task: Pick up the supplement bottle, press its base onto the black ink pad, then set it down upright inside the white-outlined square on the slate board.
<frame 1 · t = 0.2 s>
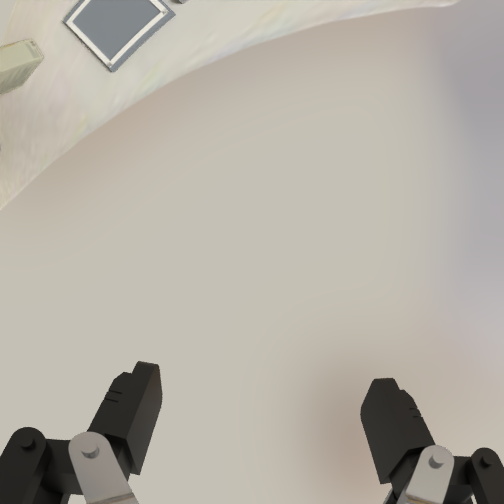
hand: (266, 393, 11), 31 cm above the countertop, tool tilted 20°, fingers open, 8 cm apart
print card: (115, 15, 25), on the countertop
skincare box: (26, 62, 27), on the countertop
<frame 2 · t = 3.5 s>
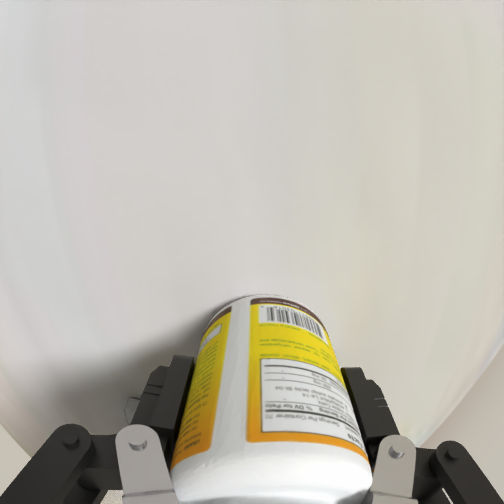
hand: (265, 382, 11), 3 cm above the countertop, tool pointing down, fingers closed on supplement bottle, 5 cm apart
supplement bottle: (265, 341, 14), on the countertop, touching gripper
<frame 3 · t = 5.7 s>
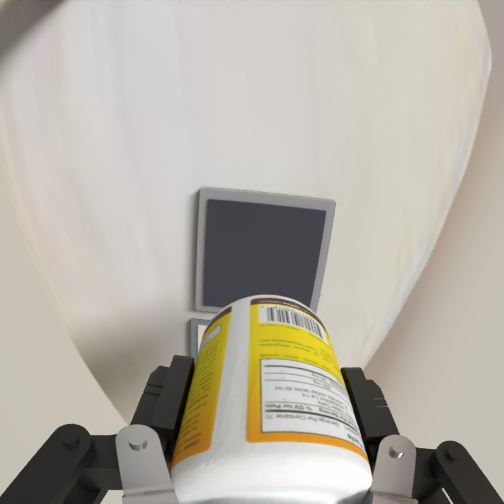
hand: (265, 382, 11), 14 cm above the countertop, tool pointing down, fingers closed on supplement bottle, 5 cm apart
supplement bottle: (265, 341, 14), point 12 cm above the countertop, touching gripper
ink pad: (261, 255, 25), on the countertop
print card: (248, 367, 29), on the countertop
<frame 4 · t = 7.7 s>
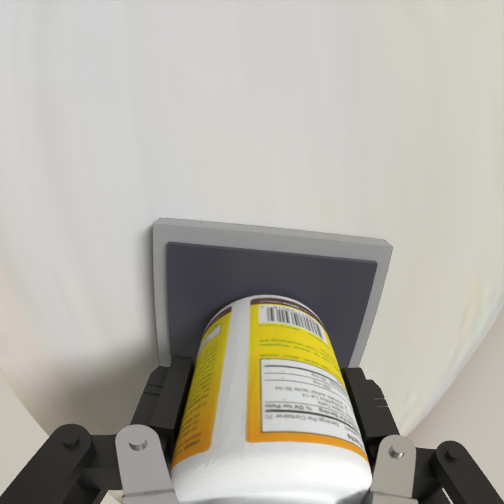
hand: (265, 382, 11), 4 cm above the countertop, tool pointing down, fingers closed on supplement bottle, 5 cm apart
supplement bottle: (265, 341, 14), point 1 cm above the countertop, touching gripper, ink pad
ink pad: (263, 328, 15), on the countertop
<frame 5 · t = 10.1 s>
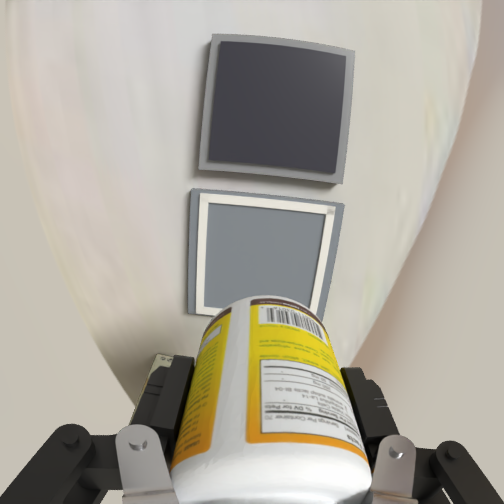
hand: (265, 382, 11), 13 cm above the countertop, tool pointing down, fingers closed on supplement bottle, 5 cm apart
supplement bottle: (265, 341, 14), point 11 cm above the countertop, touching gripper
ink pad: (277, 105, 20), on the countertop
print card: (261, 259, 24), on the countertop
skincare box: (176, 379, 28), on the countertop
when the fingers open (5 cm above the countertop, at t = 12.0 s): supplement bottle drops 1 cm, resting on print card.
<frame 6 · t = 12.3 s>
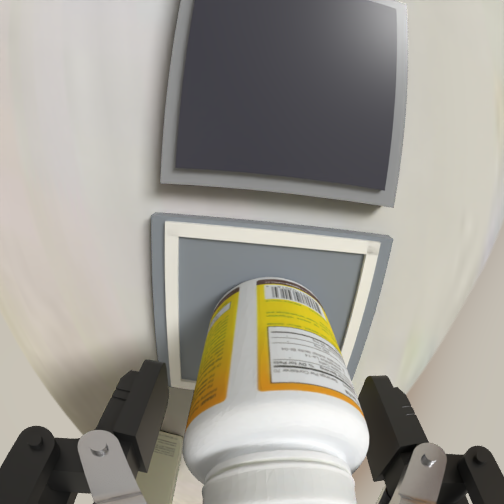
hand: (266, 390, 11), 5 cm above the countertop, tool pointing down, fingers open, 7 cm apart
supplement bottle: (268, 322, 15), resting on print card
ink pad: (290, 78, 12), on the countertop
print card: (263, 319, 15), on the countertop
skincare box: (155, 446, 20), on the countertop
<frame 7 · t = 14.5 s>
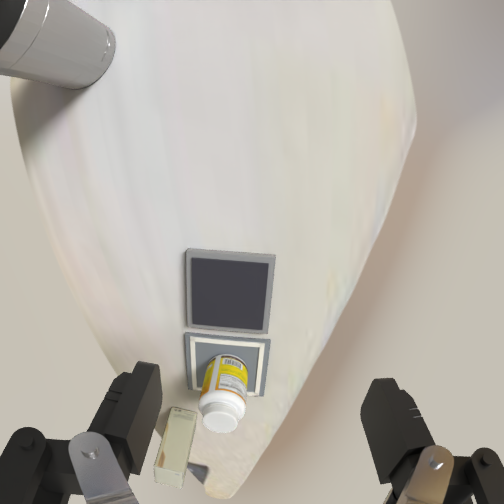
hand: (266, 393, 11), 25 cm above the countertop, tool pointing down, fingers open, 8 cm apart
supplement bottle: (228, 366, 40), resting on print card
ink pad: (229, 291, 37), on the countertop
print card: (226, 365, 41), on the countertop
skincare box: (183, 419, 45), on the countertop
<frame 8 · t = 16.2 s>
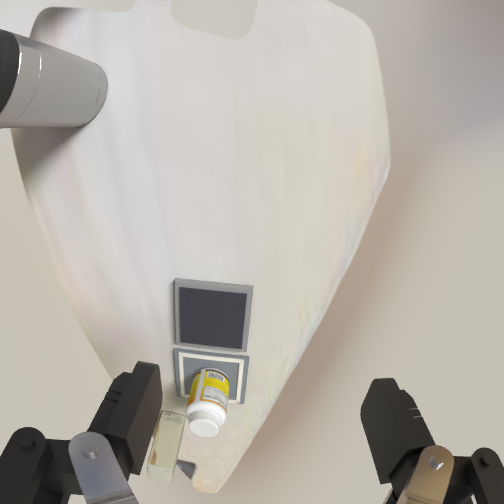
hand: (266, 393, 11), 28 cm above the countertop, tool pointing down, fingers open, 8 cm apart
supplement bottle: (212, 378, 45), resting on print card
ink pad: (212, 315, 42), on the countertop
print card: (211, 377, 45), on the countertop
skincare box: (173, 421, 50), on the countertop
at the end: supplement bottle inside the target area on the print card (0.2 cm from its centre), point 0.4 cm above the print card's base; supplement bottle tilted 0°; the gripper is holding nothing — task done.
